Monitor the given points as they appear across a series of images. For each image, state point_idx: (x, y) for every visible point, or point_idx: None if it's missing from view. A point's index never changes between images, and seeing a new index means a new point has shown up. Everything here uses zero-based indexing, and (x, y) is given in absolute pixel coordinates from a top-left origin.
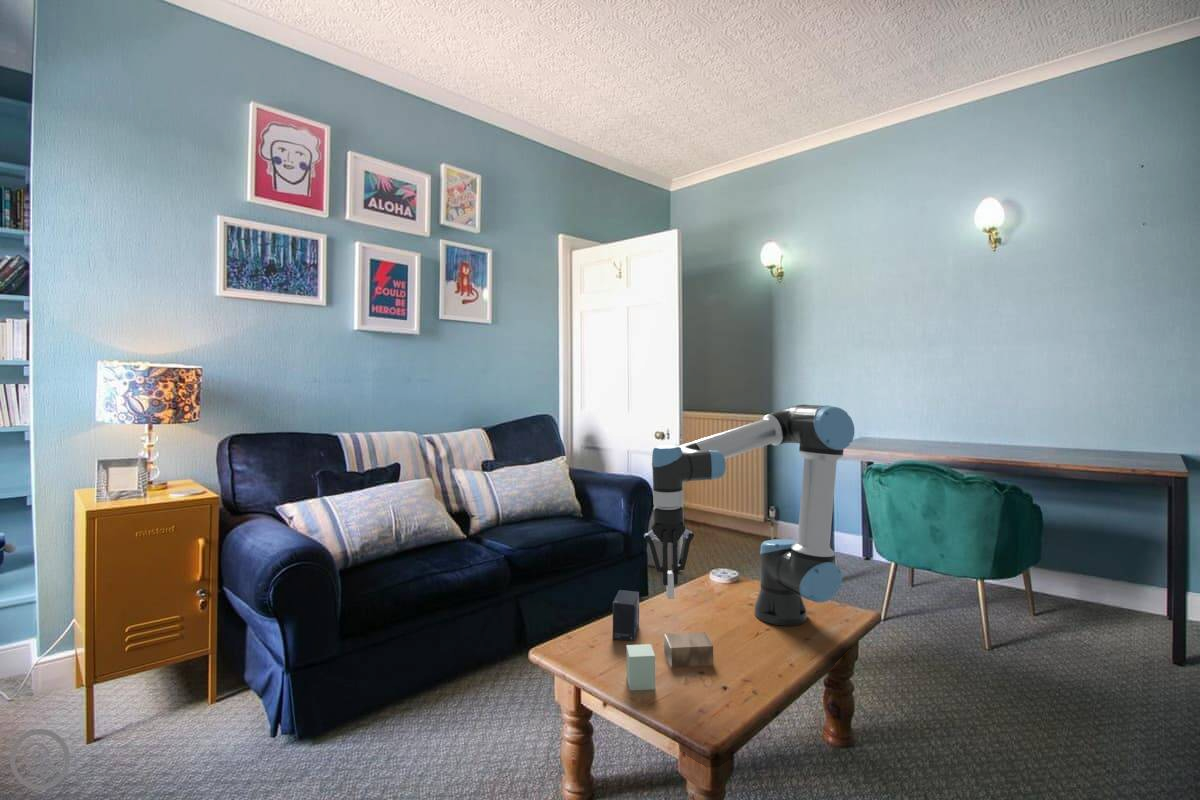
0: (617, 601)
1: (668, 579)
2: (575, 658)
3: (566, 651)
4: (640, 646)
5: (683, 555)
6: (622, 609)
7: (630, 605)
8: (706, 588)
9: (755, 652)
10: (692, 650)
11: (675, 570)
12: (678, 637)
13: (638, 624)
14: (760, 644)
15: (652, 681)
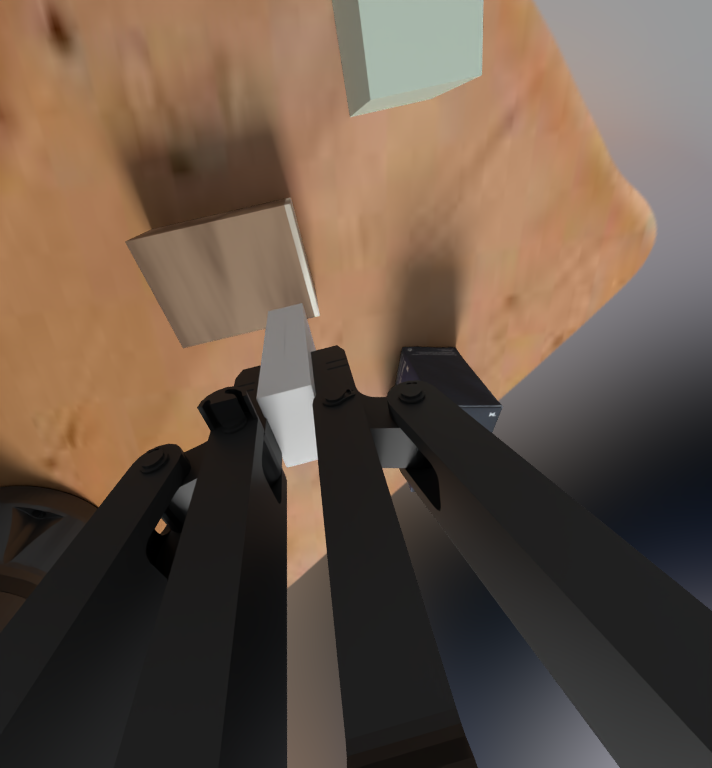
0: (487, 415)
1: (303, 359)
2: (566, 223)
3: (581, 263)
4: (419, 62)
5: (64, 620)
6: (463, 394)
7: None
8: None
9: (37, 333)
10: (208, 221)
11: (233, 423)
12: (268, 296)
13: None
14: (40, 383)
15: None
